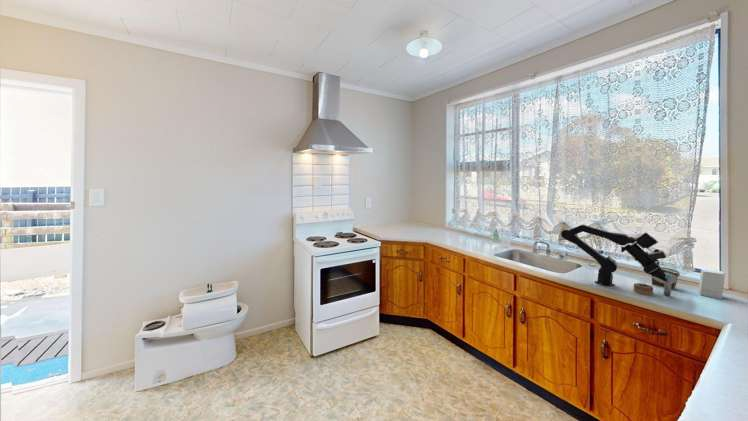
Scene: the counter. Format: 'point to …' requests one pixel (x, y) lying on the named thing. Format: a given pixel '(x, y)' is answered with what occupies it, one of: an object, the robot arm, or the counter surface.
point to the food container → (674, 273)
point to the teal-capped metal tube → (668, 285)
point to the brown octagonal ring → (643, 288)
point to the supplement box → (711, 283)
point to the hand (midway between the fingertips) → (665, 278)
